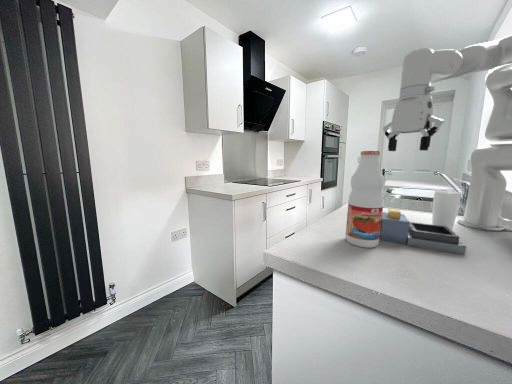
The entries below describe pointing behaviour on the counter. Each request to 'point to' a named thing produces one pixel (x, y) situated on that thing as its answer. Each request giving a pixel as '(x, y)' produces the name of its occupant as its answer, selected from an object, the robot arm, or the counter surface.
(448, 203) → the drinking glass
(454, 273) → the counter surface
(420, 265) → the counter surface
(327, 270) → the counter surface
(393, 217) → the grey tray
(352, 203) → the fruit juice
